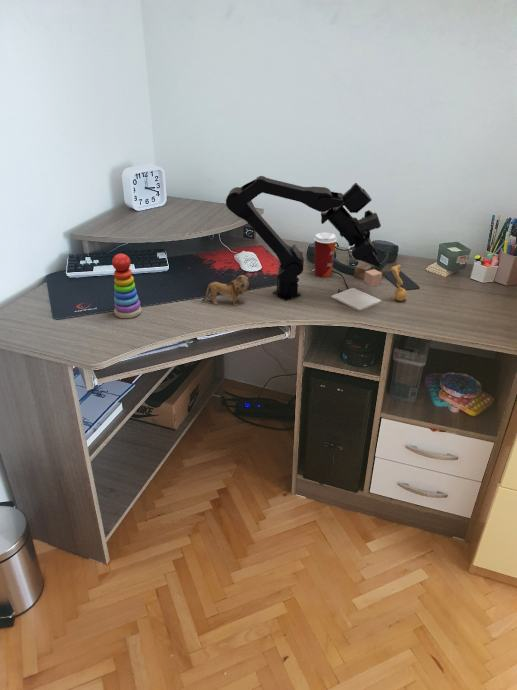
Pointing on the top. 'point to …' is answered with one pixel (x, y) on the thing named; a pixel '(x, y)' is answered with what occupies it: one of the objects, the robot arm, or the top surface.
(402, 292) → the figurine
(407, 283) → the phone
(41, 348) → the top surface
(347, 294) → the mat
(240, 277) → the lion figurine
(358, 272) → the walnut block
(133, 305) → the stacking toy
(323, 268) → the paper cup
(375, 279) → the terracotta block
